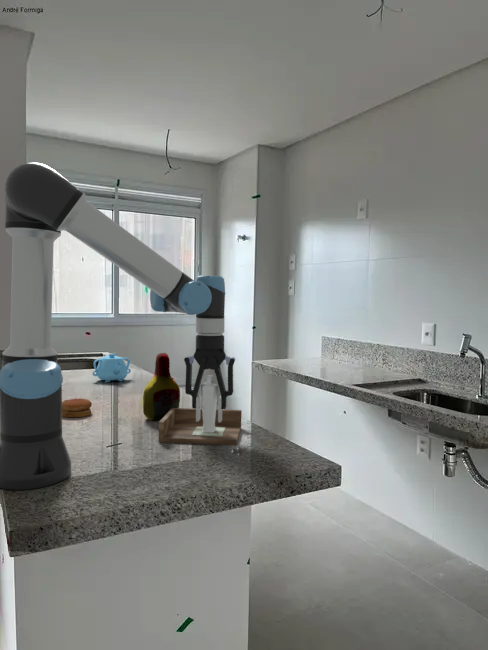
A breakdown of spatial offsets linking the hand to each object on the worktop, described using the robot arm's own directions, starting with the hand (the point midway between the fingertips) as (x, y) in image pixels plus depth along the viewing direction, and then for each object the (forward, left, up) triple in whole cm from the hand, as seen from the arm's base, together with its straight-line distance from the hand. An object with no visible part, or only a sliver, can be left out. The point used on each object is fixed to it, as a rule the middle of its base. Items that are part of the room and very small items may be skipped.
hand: (209, 420), depth 132 cm
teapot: (+77, +53, -4) cm, 94 cm away
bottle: (+17, +17, -4) cm, 24 cm away
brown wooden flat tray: (+1, +2, -4) cm, 5 cm away
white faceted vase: (0, 0, -3) cm, 3 cm away
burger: (+19, +44, -5) cm, 48 cm away
